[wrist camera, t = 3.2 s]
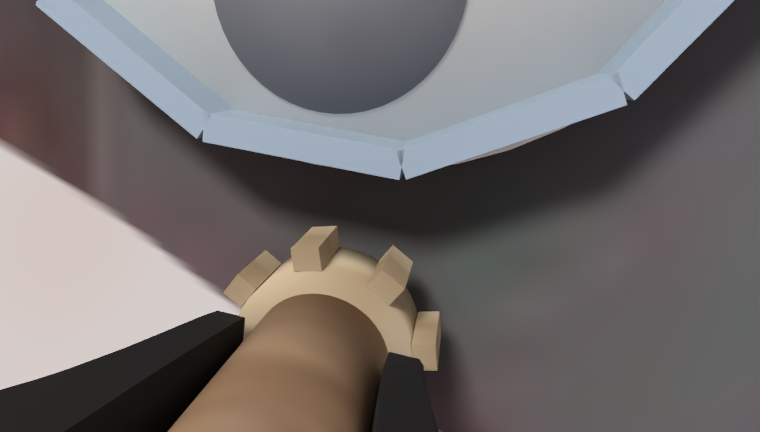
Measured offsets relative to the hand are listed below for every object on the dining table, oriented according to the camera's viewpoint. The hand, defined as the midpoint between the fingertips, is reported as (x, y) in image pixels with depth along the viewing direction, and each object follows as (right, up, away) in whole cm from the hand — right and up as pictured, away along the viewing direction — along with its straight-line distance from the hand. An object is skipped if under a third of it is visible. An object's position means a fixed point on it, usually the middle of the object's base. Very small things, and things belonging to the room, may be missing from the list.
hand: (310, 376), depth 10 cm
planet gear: (0, +1, +2) cm, 2 cm away
